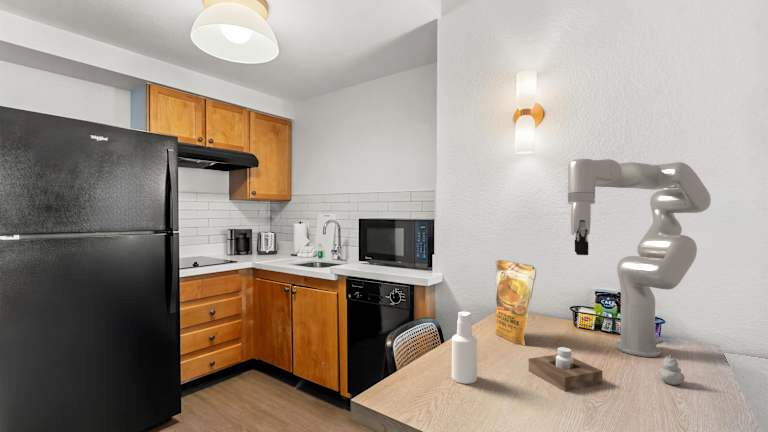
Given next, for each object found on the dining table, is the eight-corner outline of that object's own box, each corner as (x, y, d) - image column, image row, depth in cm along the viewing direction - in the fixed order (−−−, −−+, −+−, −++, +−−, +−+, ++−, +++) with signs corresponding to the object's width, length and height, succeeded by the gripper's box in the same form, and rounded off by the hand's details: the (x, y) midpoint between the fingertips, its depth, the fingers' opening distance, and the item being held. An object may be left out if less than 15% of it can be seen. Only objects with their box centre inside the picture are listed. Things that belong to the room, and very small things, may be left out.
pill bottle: (575, 381, 98) (575, 352, 98) (558, 379, 99) (558, 351, 99) (570, 374, 102) (570, 347, 102) (553, 373, 103) (554, 345, 103)
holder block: (563, 365, 109) (563, 353, 109) (602, 383, 96) (602, 370, 96) (528, 370, 104) (528, 358, 104) (564, 391, 92) (564, 377, 92)
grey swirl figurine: (653, 381, 98) (653, 351, 98) (667, 376, 101) (667, 348, 101) (676, 389, 93) (676, 358, 94) (690, 384, 96) (690, 354, 96)
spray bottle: (477, 375, 101) (478, 311, 101) (475, 386, 95) (476, 317, 95) (453, 371, 103) (453, 309, 103) (449, 382, 97) (450, 315, 97)
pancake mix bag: (502, 329, 143) (502, 259, 143) (537, 345, 125) (538, 265, 125) (488, 331, 141) (488, 259, 141) (522, 347, 123) (522, 265, 123)
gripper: (567, 200, 123) (567, 250, 122) (568, 197, 107) (568, 255, 107) (592, 200, 119) (592, 251, 119) (598, 197, 104) (597, 256, 104)
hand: (581, 253), depth 113 cm, fingers open, 9 cm apart
